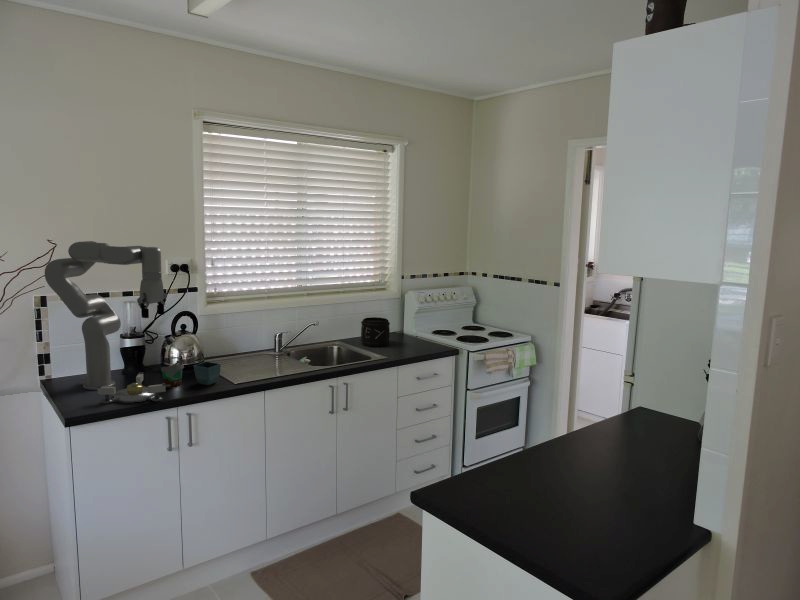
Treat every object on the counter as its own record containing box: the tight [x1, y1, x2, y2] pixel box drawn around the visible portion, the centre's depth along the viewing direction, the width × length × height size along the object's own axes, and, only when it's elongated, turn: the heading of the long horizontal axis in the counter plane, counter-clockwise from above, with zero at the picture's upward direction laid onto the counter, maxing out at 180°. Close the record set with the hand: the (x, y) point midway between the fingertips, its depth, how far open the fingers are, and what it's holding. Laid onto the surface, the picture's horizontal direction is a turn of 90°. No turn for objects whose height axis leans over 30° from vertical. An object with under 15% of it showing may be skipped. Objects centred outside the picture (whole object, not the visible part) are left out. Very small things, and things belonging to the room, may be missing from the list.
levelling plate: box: [100, 382, 164, 405], centre depth 241 cm, size 21×24×6 cm
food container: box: [161, 360, 185, 389], centre depth 259 cm, size 12×6×10 cm, turn 168°
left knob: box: [135, 372, 144, 385], centre depth 252 cm, size 6×2×6 cm, turn 14°
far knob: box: [147, 382, 167, 398], centre depth 238 cm, size 6×2×6 cm, turn 123°
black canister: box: [360, 316, 391, 348], centre depth 354 cm, size 18×18×16 cm
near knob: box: [97, 386, 117, 400], centre depth 233 cm, size 6×2×6 cm, turn 92°
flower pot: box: [193, 361, 222, 386], centre depth 263 cm, size 9×9×9 cm
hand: (153, 316), depth 246 cm, fingers open, 9 cm apart
